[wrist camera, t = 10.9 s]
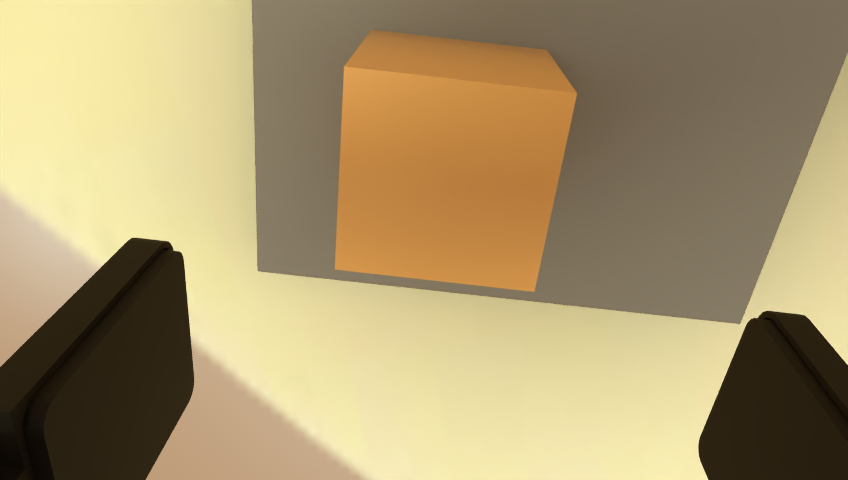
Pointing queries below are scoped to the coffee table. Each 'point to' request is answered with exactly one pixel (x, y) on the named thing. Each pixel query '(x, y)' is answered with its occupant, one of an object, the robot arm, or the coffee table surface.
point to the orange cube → (449, 159)
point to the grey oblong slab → (580, 136)
